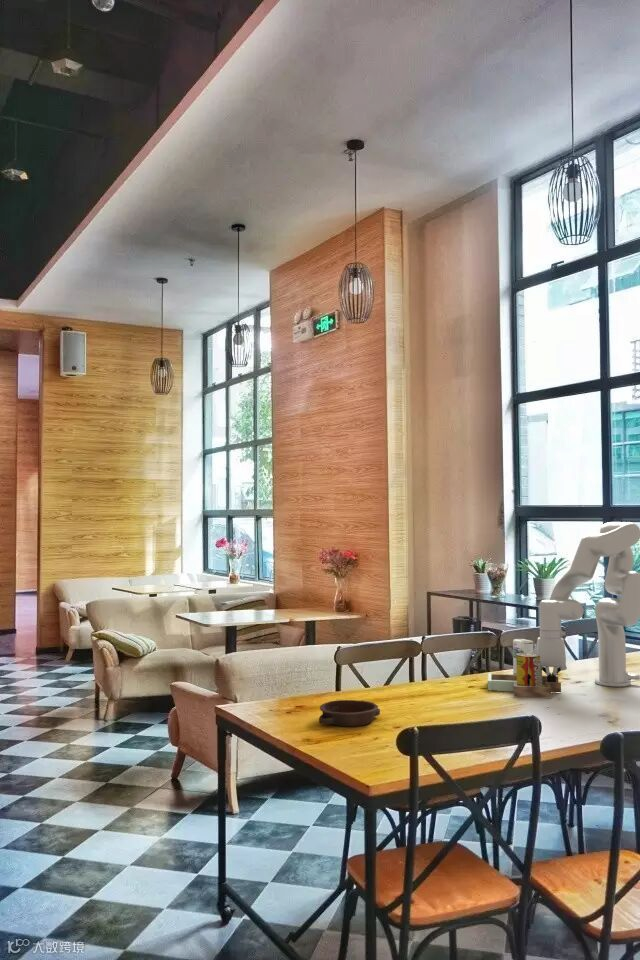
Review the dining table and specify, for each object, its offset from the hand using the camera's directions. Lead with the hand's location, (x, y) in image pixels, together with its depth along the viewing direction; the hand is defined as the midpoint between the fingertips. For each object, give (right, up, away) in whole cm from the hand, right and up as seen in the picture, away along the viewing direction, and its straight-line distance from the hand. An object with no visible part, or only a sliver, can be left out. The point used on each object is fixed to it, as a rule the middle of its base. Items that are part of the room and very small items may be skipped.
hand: (551, 685), depth 287 cm
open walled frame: (-10, -1, -2) cm, 10 cm away
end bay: (-17, -1, +4) cm, 17 cm away
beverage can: (-7, -2, +2) cm, 8 cm away
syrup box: (-5, -3, +21) cm, 22 cm away
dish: (-75, 0, -45) cm, 87 cm away
